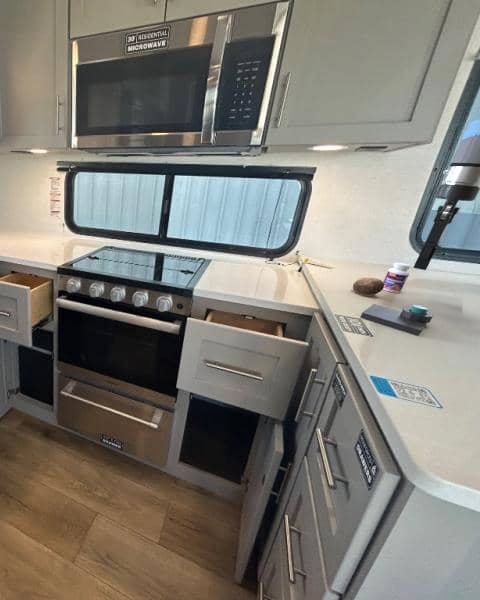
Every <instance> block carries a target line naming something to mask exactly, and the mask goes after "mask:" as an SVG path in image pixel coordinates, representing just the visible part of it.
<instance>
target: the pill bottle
mask: <svg viewBox="0 0 480 600" xmlns="http://www.w3.org/2000/svg"><path fill="white" fill-rule="evenodd" d="M410 267H411V265H410V264H408V263H404V262H398V261H396V262H394V263H393V267H391V268H389V269H388V270H387V272H386V275H385V277H384V280H382V281H383V283H384V288H383V290H382V291H385V292H389V293H394V294H399V293H401V291H402V290H403V288H404V286H405V284H406V282H407V280H408V278H409V276H410V272H409V271H408V270H409V269H410Z"/></svg>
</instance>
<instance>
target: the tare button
mask: <svg viewBox="0 0 480 600" xmlns="http://www.w3.org/2000/svg"><path fill="white" fill-rule="evenodd" d="M410 308H411V310H410V311H411V312H413V313H417V314H421V315H425V314H426V312H428V310H429V308H427V307H425V306H423V305H417V304H413V305H412V307H410Z"/></svg>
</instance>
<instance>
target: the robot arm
mask: <svg viewBox="0 0 480 600" xmlns="http://www.w3.org/2000/svg"><path fill="white" fill-rule="evenodd" d="M442 173H443V175H444V177H443V179H442V182H443V183H444V184H443V183H442V184H441V185H439V187H438V189H437V191H436V194H435V196H434V198H436V199H438V200H439V199H440V200H445V201H444V204H443V205H439V206H438V208H437V210H436V214H435V217H434V219H433V224H432V226H431V229H430V232H429V233H428V235H427V237H426V240H425V241H424V243H420V247H422V248H421V251H420V253H419V254H418V257H417V259H416V260H415V262H414V265H413V267H412V268H413V269H416V270H417V269H418V270H422V271H426V270H427V269H428V267H429V264H430V263H431V261H432V259H433V257H434V254H435V253H436V251H437V248H439V249H441V247H442V245H441V244H440V243H441V240H442V238H443V236H444V234H445V232H446V230H447V228H448V226H449V225H450V224H451V223H453V221H454V219H455V217H456V215H457V214H459V212H460V210H461V207H458V205H459V203H460V201H461V202H473V201H475V200H476V198H477V196H478V194H479V192H480V186H479V185H480V118H479V119H476V120H474V121H472V122H471V123H470V124H468V126H467V128H466V130H465V132H464V134H463V136H462V138H461V140H460V142H459V144H458V146H457V148H456V151H455V153H454V156H453V157H452V159H451V161H450V164H449V166H448V169H445V170H443V172H442Z"/></svg>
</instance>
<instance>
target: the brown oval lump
mask: <svg viewBox="0 0 480 600" xmlns="http://www.w3.org/2000/svg"><path fill="white" fill-rule="evenodd" d="M383 281H384V280H382V279H379V278H375V277H363V278H359V279H357V280H355V282H354V283H352V290H353V291H354V293H355V294H358V295H360V296H363V297H364V296H365V297H371V296H375V295H377V294H379V293H381V292H382V291H384V290H383V288H384V283H383Z"/></svg>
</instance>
